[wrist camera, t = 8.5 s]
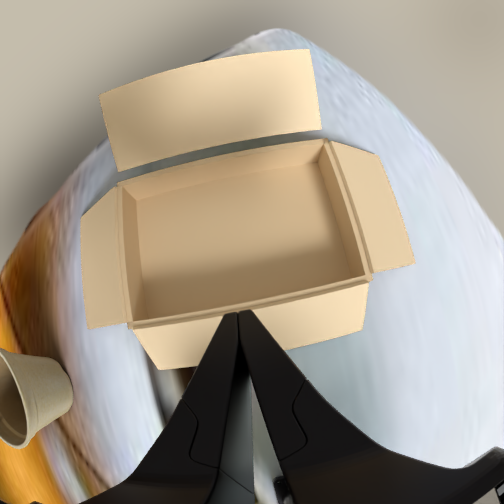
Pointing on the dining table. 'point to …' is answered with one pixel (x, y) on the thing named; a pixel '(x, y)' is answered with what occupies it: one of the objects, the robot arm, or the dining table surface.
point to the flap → (211, 106)
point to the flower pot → (30, 396)
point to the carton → (242, 247)
